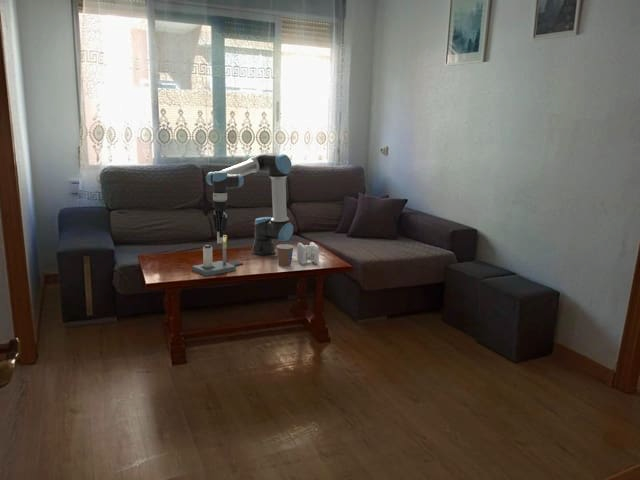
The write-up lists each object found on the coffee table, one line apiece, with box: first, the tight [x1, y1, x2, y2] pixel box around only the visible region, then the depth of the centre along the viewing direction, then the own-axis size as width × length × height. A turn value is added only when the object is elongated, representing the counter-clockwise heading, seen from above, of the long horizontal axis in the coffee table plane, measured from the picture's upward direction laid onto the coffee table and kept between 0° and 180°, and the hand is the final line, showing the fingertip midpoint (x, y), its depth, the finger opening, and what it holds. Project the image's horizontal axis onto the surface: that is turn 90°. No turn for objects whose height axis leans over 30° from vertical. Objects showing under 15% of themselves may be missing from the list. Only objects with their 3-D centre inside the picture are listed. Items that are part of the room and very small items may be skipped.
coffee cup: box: [275, 243, 295, 268], centre depth 302 cm, size 10×10×12 cm
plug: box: [202, 244, 214, 269], centre depth 285 cm, size 6×6×15 cm
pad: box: [226, 260, 244, 267], centre depth 303 cm, size 8×8×1 cm
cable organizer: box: [296, 241, 320, 266], centre depth 311 cm, size 15×11×12 cm
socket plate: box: [191, 247, 237, 277], centre depth 287 cm, size 19×15×17 cm
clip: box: [222, 234, 228, 249], centre depth 284 cm, size 16×3×4 cm, turn 11°
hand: (219, 242), depth 281 cm, fingers closed
